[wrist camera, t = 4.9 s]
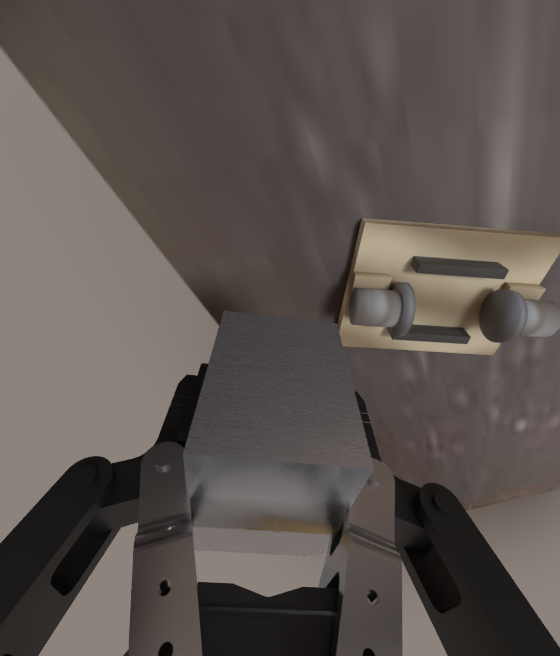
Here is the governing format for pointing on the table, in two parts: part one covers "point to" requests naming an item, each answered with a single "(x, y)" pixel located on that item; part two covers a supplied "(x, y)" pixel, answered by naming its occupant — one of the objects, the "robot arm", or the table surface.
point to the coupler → (274, 438)
